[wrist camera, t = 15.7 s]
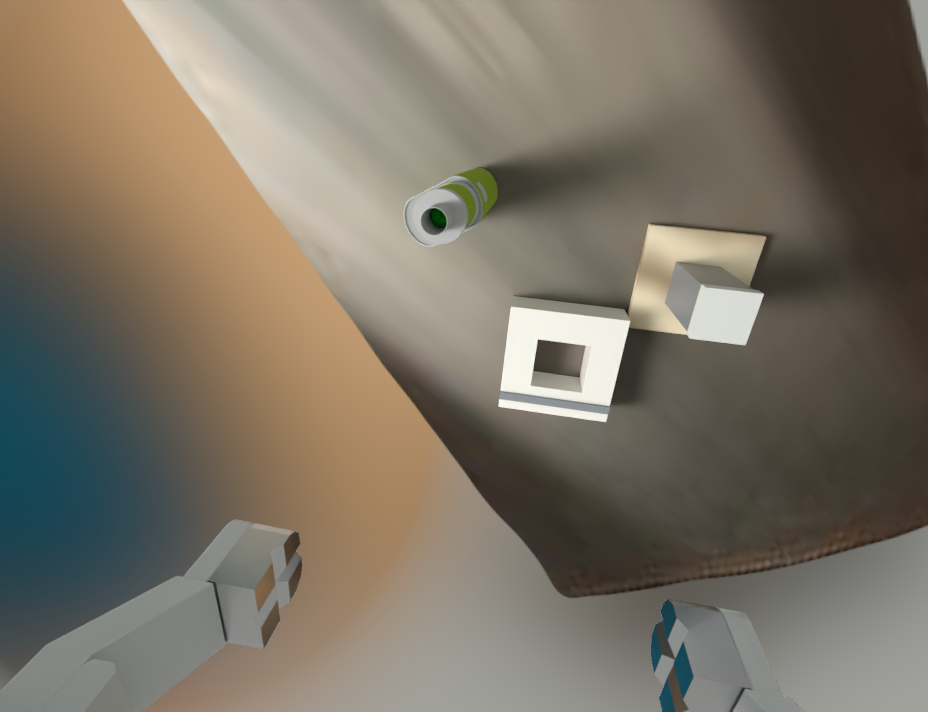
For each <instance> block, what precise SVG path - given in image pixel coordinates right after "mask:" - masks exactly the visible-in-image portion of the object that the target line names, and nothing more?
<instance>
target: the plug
mask: <svg viewBox="0 0 928 712" xmlns="http://www.w3.org/2000/svg"><path fill="white" fill-rule="evenodd" d="M763 296H764V294H763V293H762V292H760V291H759V290H754V289H753V288H751V287H750V286H748V285H747V284H745V283H744V282H742V281H741V280H739V279H738V278H736V277H735V276H733V275H732V274H731V273H729V272H728V271H726V270H725V269H723V268H722V267H718V266H709V265H700V264H691V263H681V262H676V263H675V267H674V270H673V274H672V278H671V282H670V285H669V289H668V293H667V296H666V300H665V304H666V305H667V306H668V308H669V309H670V310H671V312H672V313H673V314H674V315H675V317H676V318H677V319H678V321H679V322H680V323H681V324H682V326H683V327H684V328H685V330H686V331H687V335H688V337H689V338H690V339H698V340H707V341H715V342H723V343H731V344H739V345H746V342H747V340H748V337H749V334H750V331H751V329H752V326H753V323H754V320H755V318H756V315H757V312H758V309H759V307H760V304H761V301H762V298H763Z"/></svg>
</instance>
